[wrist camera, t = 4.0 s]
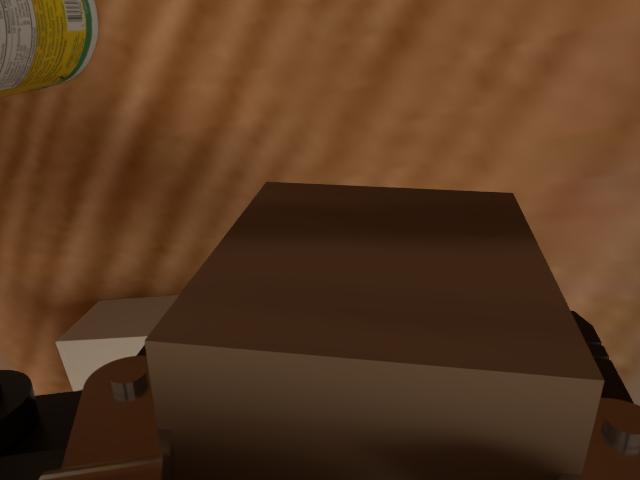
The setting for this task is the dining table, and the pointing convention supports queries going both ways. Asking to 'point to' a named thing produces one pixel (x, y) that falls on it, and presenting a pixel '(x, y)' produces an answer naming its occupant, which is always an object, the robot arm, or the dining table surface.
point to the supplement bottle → (44, 42)
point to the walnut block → (374, 344)
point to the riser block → (109, 334)
